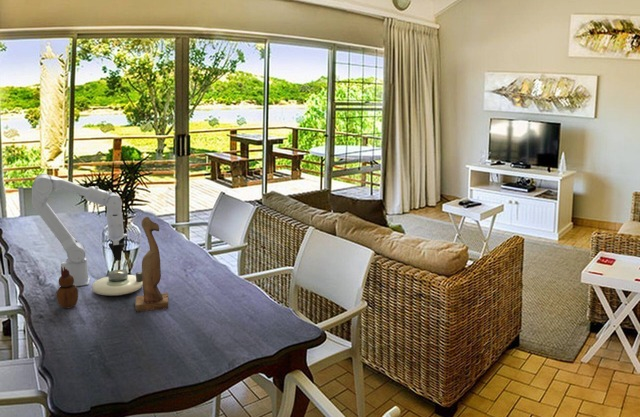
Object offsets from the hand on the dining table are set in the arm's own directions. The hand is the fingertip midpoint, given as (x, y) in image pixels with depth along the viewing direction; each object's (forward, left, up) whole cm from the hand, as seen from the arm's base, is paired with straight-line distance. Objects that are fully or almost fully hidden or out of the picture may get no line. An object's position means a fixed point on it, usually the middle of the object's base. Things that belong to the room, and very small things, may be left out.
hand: (118, 257), depth 228 cm
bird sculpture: (+12, -32, -9) cm, 35 cm away
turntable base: (0, -13, -9) cm, 15 cm away
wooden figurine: (-16, -26, -9) cm, 32 cm away
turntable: (0, -13, -9) cm, 15 cm away
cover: (0, -9, -6) cm, 11 cm away
